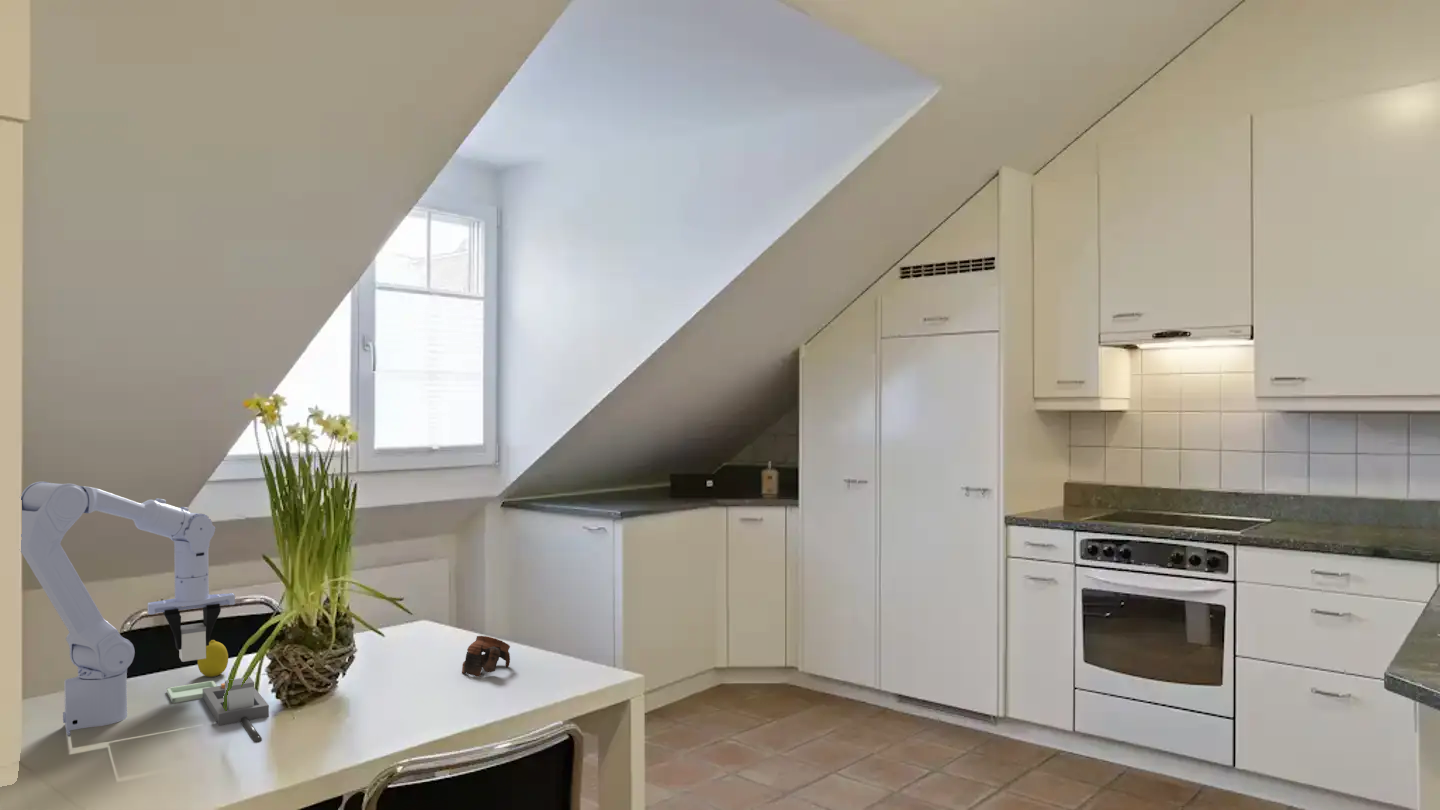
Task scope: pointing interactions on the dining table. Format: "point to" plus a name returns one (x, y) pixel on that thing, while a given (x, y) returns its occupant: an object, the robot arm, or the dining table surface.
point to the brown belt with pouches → (485, 655)
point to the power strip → (236, 710)
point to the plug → (193, 642)
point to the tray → (188, 691)
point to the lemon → (214, 659)
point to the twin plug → (240, 694)
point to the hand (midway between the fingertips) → (192, 646)
